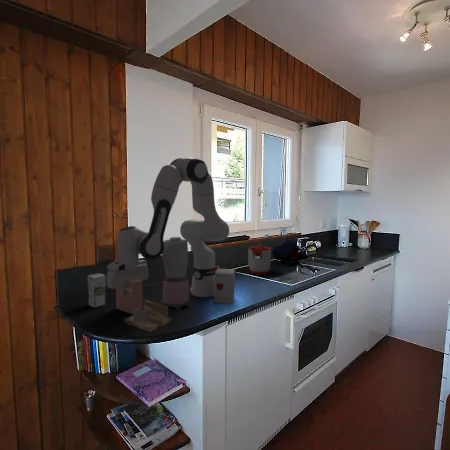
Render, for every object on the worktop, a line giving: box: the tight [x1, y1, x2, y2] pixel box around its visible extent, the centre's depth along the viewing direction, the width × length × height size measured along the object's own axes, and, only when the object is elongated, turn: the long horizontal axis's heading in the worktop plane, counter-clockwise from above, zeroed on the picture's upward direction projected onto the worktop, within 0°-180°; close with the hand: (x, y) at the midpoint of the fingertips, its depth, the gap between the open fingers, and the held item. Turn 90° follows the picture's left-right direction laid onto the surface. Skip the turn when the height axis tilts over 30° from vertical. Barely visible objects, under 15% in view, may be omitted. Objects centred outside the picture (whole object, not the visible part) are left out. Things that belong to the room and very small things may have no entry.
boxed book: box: [115, 279, 144, 315], centre depth 135 cm, size 5×12×14 cm, turn 56°
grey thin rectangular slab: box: [132, 307, 148, 325], centre depth 119 cm, size 1×7×5 cm, turn 56°
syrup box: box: [87, 273, 107, 309], centre depth 140 cm, size 6×6×14 cm
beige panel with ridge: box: [123, 299, 173, 333], centre depth 122 cm, size 12×15×6 cm
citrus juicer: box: [247, 243, 272, 276], centre depth 201 cm, size 16×17×20 cm
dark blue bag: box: [272, 239, 309, 267], centre depth 226 cm, size 21×26×30 cm
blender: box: [161, 236, 190, 310], centre depth 142 cm, size 16×12×32 cm
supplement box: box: [214, 268, 236, 305], centre depth 148 cm, size 9×9×15 cm
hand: (129, 293), depth 135 cm, fingers closed on boxed book, 5 cm apart
